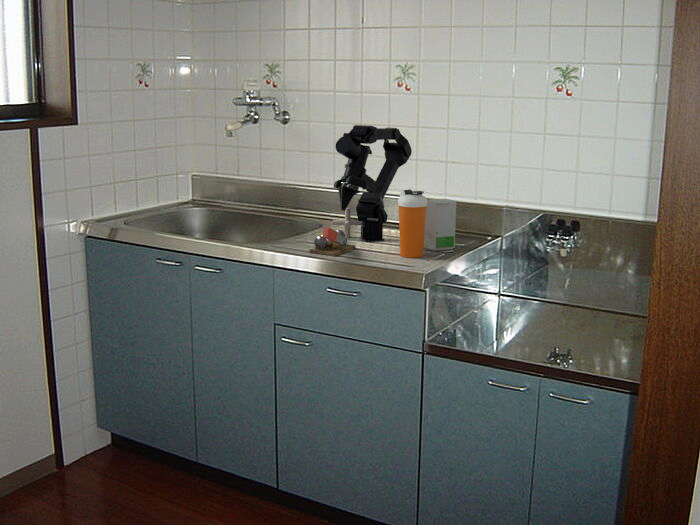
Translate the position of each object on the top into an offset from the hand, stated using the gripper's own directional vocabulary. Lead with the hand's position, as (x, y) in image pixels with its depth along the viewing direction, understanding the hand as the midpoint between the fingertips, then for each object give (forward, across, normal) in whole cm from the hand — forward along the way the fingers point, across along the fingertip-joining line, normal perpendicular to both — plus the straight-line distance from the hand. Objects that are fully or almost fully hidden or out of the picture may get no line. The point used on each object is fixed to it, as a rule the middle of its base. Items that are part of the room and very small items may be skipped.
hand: (342, 210), depth 266 cm
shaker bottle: (+9, -14, -22) cm, 27 cm away
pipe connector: (+6, +18, -9) cm, 21 cm away
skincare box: (+3, -6, -32) cm, 33 cm away
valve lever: (+10, -4, -3) cm, 11 cm away
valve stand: (+13, -1, 0) cm, 13 cm away
